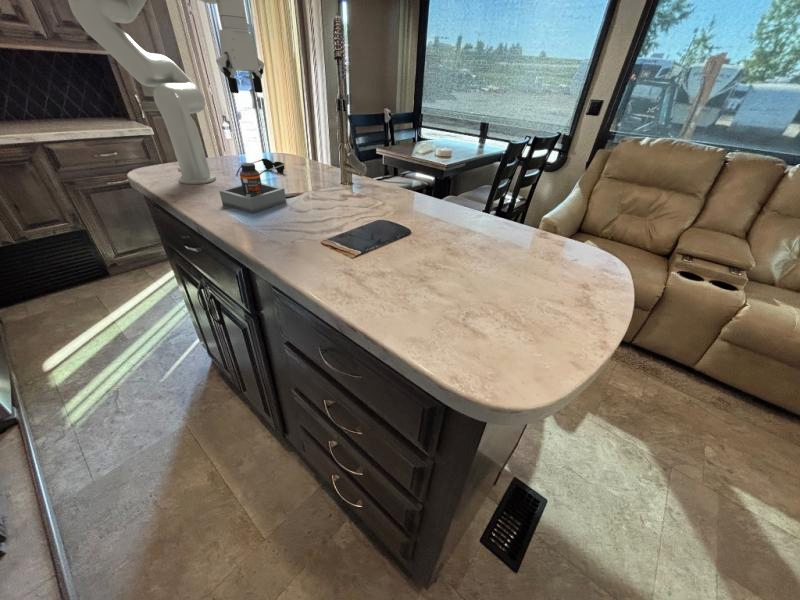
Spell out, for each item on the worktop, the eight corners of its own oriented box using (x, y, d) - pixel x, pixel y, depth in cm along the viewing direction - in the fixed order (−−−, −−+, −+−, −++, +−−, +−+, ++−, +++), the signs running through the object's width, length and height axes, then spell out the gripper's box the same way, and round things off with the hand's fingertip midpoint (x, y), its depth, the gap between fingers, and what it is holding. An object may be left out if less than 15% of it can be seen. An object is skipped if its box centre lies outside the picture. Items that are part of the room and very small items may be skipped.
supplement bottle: (251, 204, 105) (243, 167, 99) (241, 199, 108) (233, 163, 102) (268, 200, 109) (261, 164, 103) (257, 196, 112) (250, 161, 106)
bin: (222, 204, 106) (219, 190, 104) (256, 194, 117) (254, 181, 114) (253, 213, 101) (250, 199, 99) (286, 201, 112) (284, 188, 109)
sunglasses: (286, 174, 141) (284, 162, 138) (256, 185, 130) (253, 172, 127) (264, 169, 147) (262, 157, 144) (234, 179, 136) (230, 166, 133)
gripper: (249, 29, 106) (259, 91, 116) (200, 21, 94) (216, 92, 103) (265, 29, 103) (275, 93, 113) (217, 21, 91) (232, 94, 100)
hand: (247, 92), depth 108 cm, fingers open, 9 cm apart
